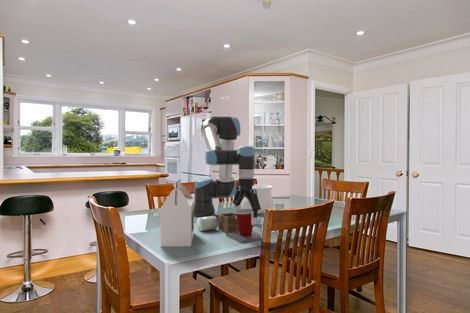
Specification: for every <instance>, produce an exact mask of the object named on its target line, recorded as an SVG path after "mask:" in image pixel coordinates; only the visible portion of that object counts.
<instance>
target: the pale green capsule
mask: <svg viewBox="0 0 470 313" xmlns="http://www.w3.org/2000/svg"><path fill="white" fill-rule="evenodd" d="M196 227H197V230H198V231H199V232H205V231H211V230H212V231H213V230H217V229H218V217H217V216H215V215H213V216H208V217H198V218H197V220H196Z"/></svg>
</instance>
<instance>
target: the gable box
mask: <svg viewBox="0 0 470 313" xmlns="http://www.w3.org/2000/svg"><path fill="white" fill-rule="evenodd" d="M172 187H173V190H171V192H170V193H169V194H168V196H167V198H165V200H164V202H163V204H162V205H161V206H160V247H161V248H169V247H172V248H174V247H175V248H176V247H181V248H182V247H184V248H185V247H191V246H192V244H193V239H194V234H195V216H194V203H195V198H193V196H192V195H191V193H190V191H189V190H188V189H187V187H186V185H184V184H182V179H181V178H179V180H177V181H176V182H174V183H173V184H172Z"/></svg>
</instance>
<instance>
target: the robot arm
mask: <svg viewBox="0 0 470 313" xmlns="http://www.w3.org/2000/svg"><path fill="white" fill-rule="evenodd" d="M200 133H201V136H203V138H204V142H205V145H206V149H207V150H206V151H205V153H204V154H205V155H204V156H205V164H206V165H211V166H219V167H218V175H216V177H215V180H214V179H213V178H208V177H207V178H201V179H197V180H195V182H194V217H198V218H201V217H209V216H215V215H216V210H215V207H214V204H213V199H228V198H233V200H232V204H233V205H234V206H235V207H234V208H235V209H234V212H235V211H236V210H240V209H241V206H239V205H241V202H242V200H243V198H244V197H246V198H247V199H248V200H249V203H250V205H251V207H252V211H251V224H252V225H253V226H254V225H258V214H257V211H258V210H260V209H261V207H260V204H259V200H258V196H257V190H256V189H252V186H254V184H255V179H254V177H255V148H254V146H253V145H251V146H249V145H247V146H246V145H245V146H243V145H240V146H239V147H238V149H235V141H237V139H238V137H239V136H240V135H241V122H240V120H239V118H238V117H236V116H211V117H208V118H206V119H205V120H204V121H203V122H202V123H201V126H200ZM236 165H237V166H238V180H237V181H238V186H237V182H236V180H235V178H234V177H233V166H236ZM236 219H237V217H236Z"/></svg>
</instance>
